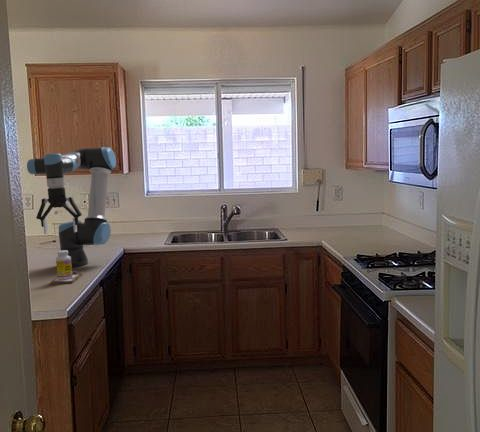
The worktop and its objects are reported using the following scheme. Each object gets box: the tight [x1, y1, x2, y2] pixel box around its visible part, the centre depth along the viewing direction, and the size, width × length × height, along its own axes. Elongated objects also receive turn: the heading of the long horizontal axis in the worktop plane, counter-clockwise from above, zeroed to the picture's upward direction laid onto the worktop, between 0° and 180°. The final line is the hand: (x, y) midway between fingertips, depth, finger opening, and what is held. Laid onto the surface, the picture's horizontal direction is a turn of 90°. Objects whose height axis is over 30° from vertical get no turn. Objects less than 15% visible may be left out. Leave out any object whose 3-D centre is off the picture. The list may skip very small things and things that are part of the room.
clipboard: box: [49, 270, 83, 286], centre depth 243 cm, size 16×10×2 cm, turn 1°
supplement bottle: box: [55, 250, 73, 280], centre depth 241 cm, size 7×7×13 cm
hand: (61, 232), depth 241 cm, fingers open, 13 cm apart
